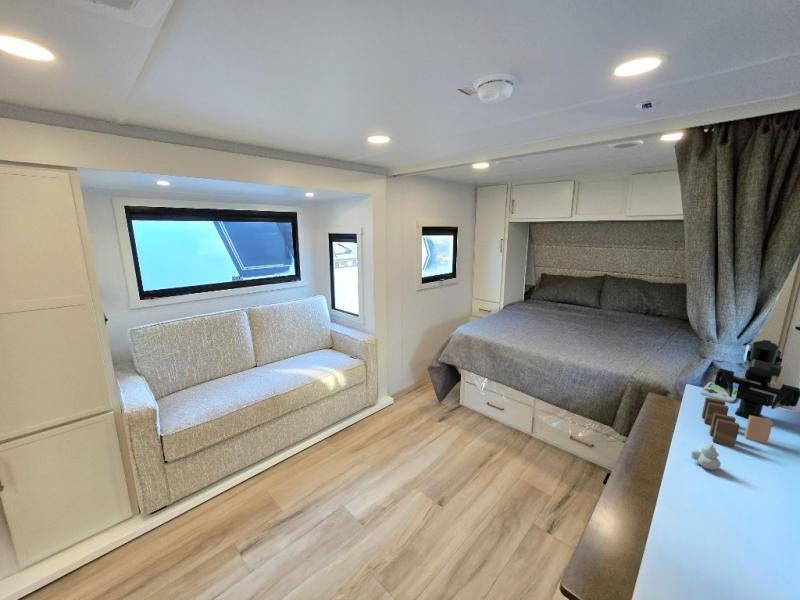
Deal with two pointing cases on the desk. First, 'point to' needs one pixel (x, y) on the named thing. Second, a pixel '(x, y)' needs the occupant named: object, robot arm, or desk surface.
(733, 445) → the domino
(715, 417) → the domino
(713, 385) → the handheld gaming console
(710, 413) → the domino
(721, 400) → the domino
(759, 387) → the robot arm
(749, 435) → the domino
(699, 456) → the grey lumpy figure
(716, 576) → the desk surface
